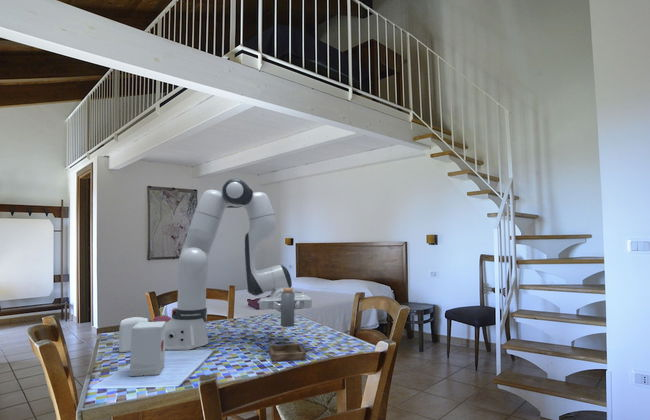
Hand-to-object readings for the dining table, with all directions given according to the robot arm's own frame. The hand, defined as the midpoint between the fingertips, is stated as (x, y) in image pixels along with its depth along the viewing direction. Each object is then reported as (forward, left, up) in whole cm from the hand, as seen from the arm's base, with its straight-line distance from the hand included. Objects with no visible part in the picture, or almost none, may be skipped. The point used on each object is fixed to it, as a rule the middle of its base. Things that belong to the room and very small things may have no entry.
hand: (288, 306), depth 148 cm
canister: (0, +1, -7) cm, 7 cm away
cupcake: (-51, +49, -18) cm, 73 cm away
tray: (0, 0, -18) cm, 18 cm away
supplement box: (-46, -8, -18) cm, 50 cm away
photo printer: (-56, +18, -18) cm, 62 cm away
